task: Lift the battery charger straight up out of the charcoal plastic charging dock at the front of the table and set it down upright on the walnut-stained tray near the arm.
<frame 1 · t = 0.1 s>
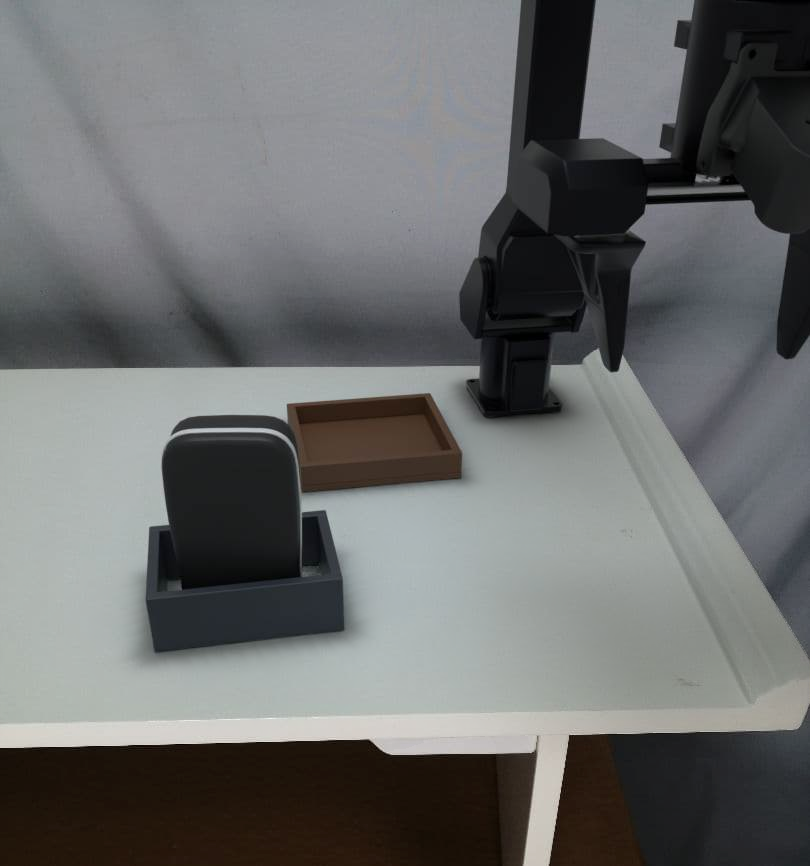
hand: (699, 362, 47), 15 cm above the table, tool pointing down, fingers open, 9 cm apart
dock: (247, 602, 54), on the table
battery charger: (247, 604, 54), resting in dock
tray: (370, 451, 70), on the table
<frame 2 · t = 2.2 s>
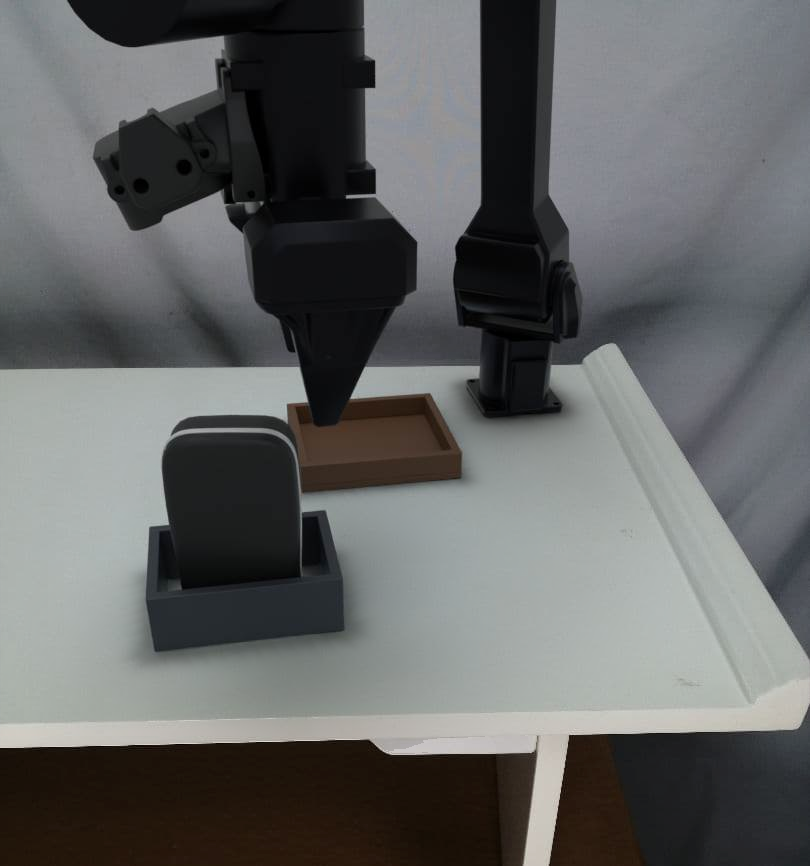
hand: (310, 385, 47), 13 cm above the table, tool pointing down, fingers open, 9 cm apart
nothing on the table moved.
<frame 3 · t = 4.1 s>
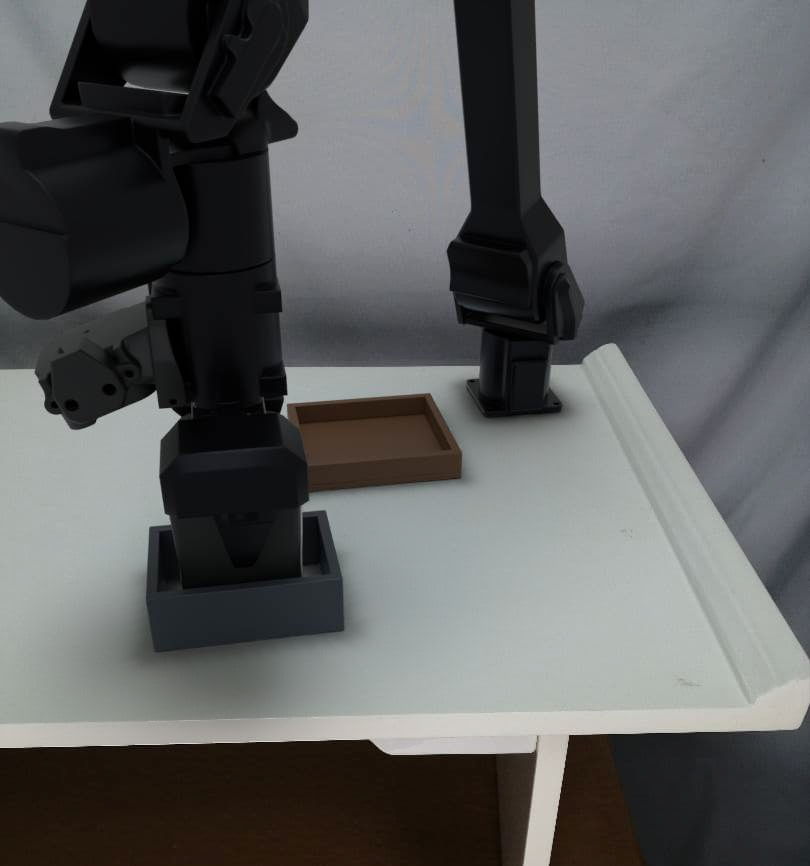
hand: (241, 540, 52), 4 cm above the table, tool pointing down, fingers closed on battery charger, 4 cm apart
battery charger: (247, 604, 54), resting in dock, touching gripper
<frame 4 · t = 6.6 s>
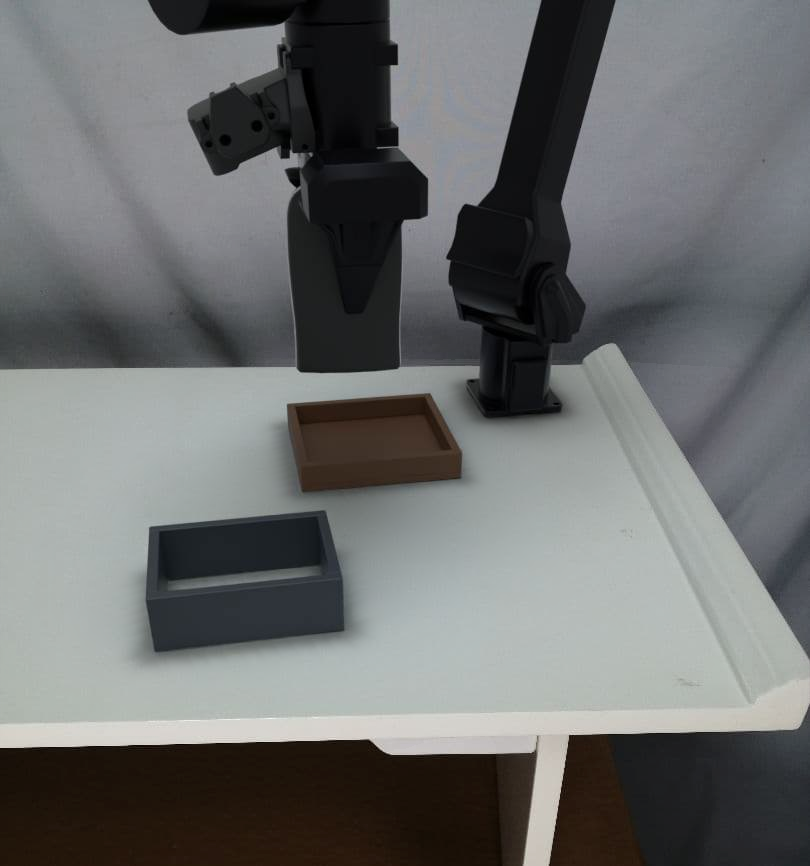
hand: (348, 300, 60), 13 cm above the table, tool pointing down, fingers closed on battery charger, 4 cm apart
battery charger: (347, 369, 62), point 8 cm above the table, touching gripper
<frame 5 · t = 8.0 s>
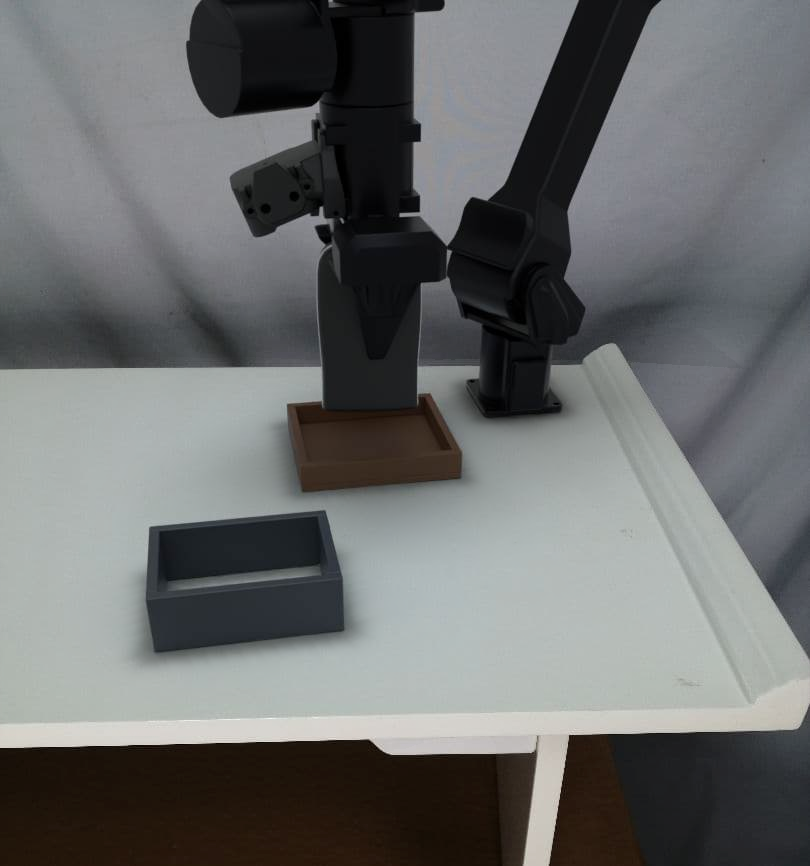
hand: (370, 346, 66), 8 cm above the table, tool pointing down, fingers closed on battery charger, 4 cm apart
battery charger: (369, 407, 67), point 4 cm above the table, touching gripper
when the fingers open (5 cm above the table, at t = 9.2 s): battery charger stays where it is, resting on tray.
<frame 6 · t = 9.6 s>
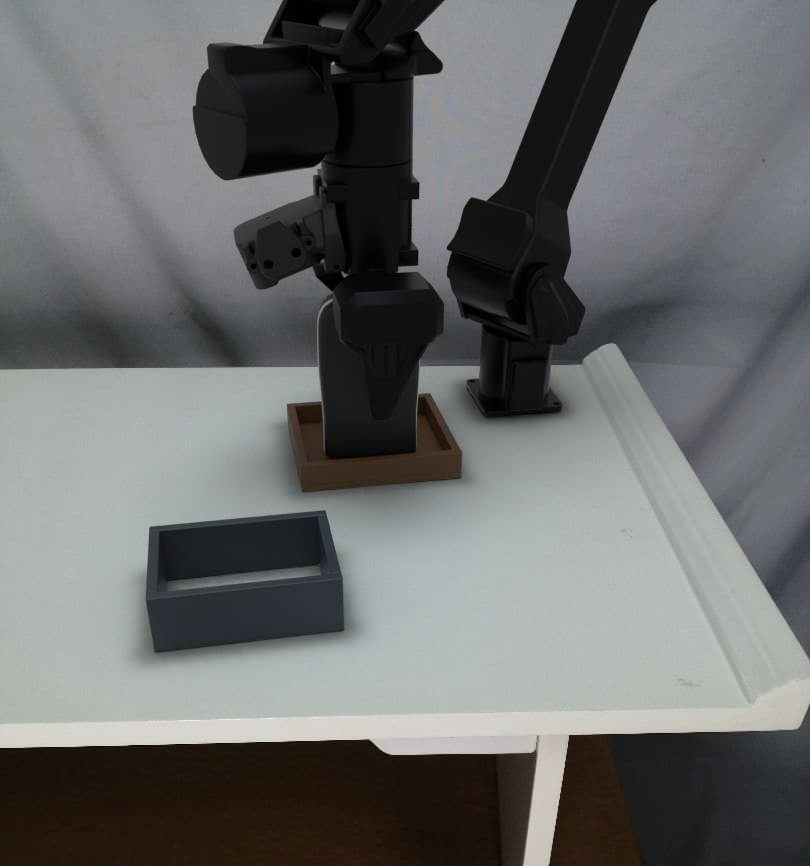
hand: (369, 391, 67), 5 cm above the table, tool pointing down, fingers open, 9 cm apart
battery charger: (369, 450, 69), resting on tray
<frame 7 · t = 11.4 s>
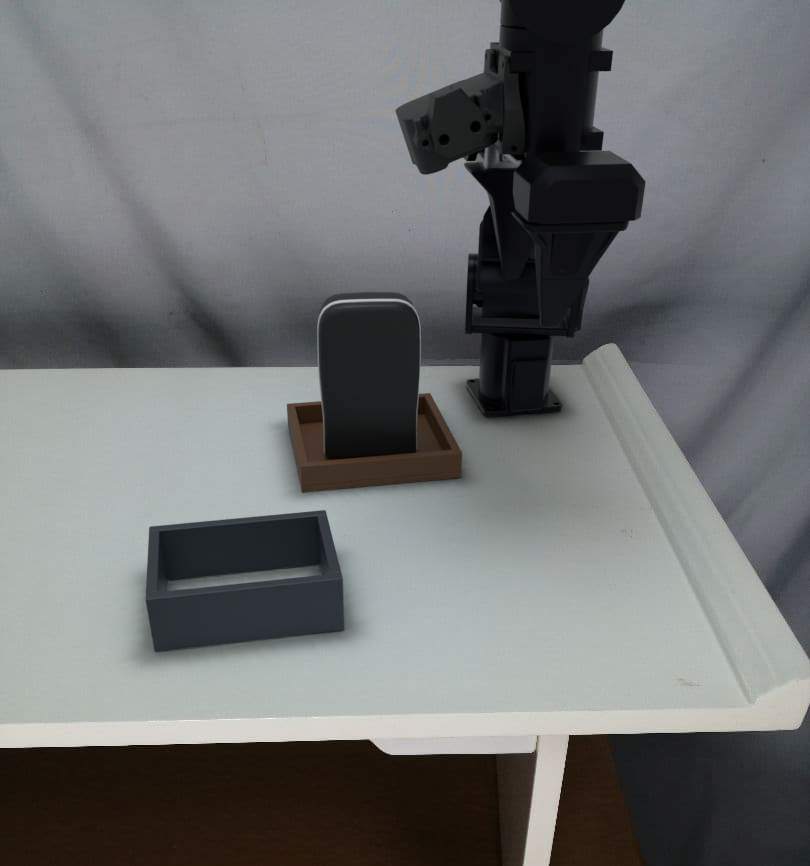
hand: (529, 301, 61), 12 cm above the table, tool pointing down, fingers open, 9 cm apart
nothing on the table moved.
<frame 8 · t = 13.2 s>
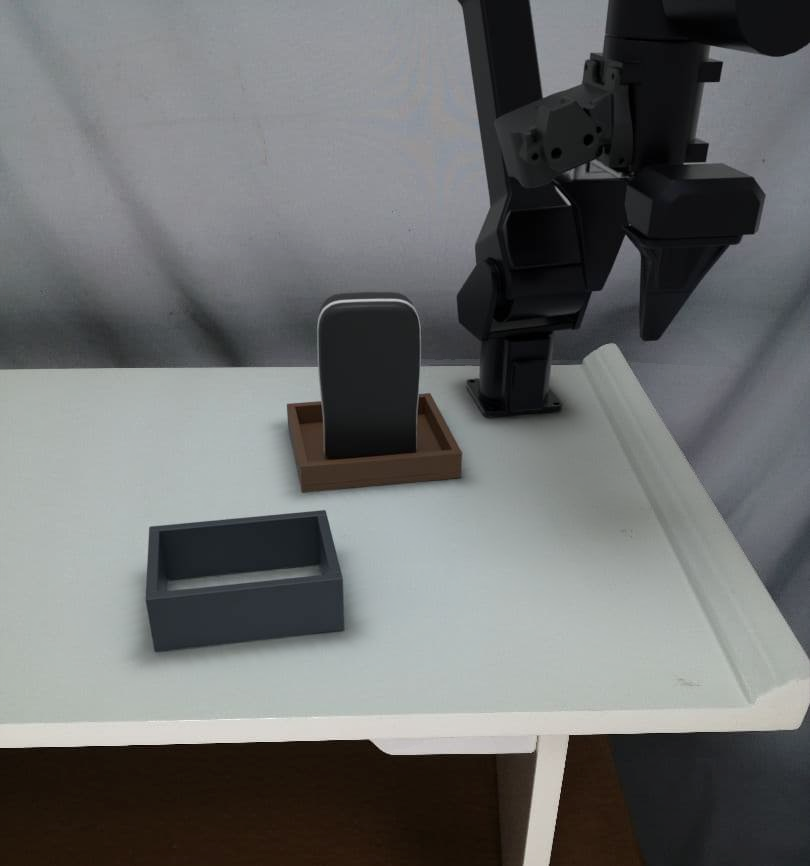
hand: (619, 313, 60), 12 cm above the table, tool pointing down, fingers open, 9 cm apart
nothing on the table moved.
at the end: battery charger 0.5 cm off-centre in the tray, point 0.3 cm above the tray's base; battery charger tilted 0°; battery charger moved 19.2 cm from its start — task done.
